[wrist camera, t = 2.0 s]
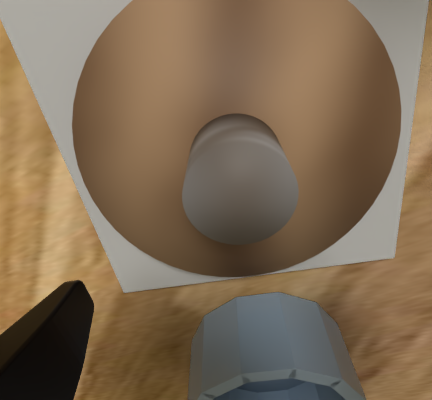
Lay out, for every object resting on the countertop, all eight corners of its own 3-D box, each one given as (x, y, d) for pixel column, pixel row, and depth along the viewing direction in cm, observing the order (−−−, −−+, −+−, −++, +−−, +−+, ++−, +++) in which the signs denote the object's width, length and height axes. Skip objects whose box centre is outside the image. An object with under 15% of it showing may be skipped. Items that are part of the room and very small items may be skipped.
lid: (407, -77, 11) (514, -126, 7) (378, 246, 18) (423, 311, 14) (23, 9, 12) (-68, 8, 8) (135, 279, 19) (114, 347, 15)
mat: (437, -118, 11) (445, -123, 10) (391, 253, 19) (394, 257, 18) (-10, -17, 12) (-16, -17, 12) (125, 287, 20) (124, 292, 20)
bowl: (337, 284, 20) (371, 360, 16) (336, 377, 25) (361, 454, 21) (179, 304, 21) (170, 381, 16) (208, 390, 26) (207, 466, 21)
